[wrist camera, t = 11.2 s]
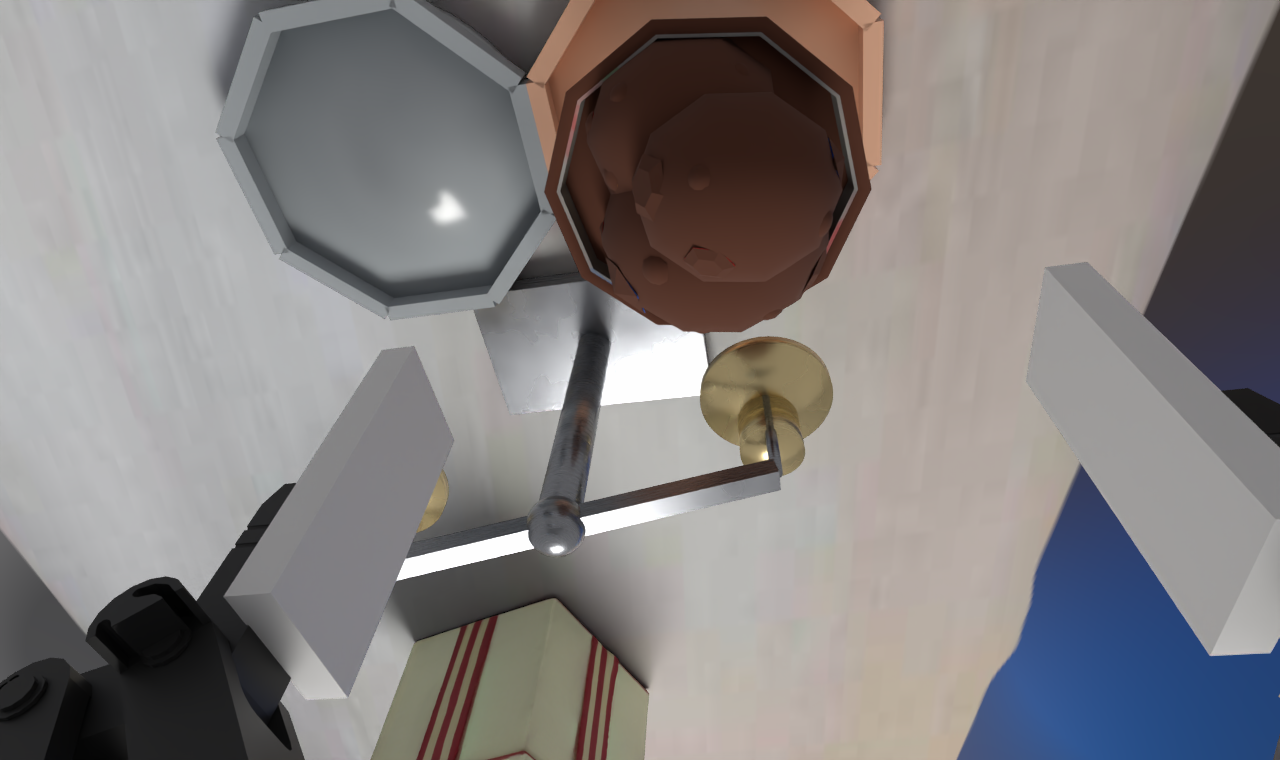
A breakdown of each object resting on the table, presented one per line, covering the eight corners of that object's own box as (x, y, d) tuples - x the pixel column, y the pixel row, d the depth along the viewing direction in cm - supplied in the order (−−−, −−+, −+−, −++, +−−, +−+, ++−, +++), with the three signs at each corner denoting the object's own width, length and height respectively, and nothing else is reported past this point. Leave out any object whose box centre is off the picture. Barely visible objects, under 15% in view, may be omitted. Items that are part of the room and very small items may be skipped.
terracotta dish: (505, -40, 30) (495, -37, 28) (875, -116, 27) (886, -116, 26) (583, 280, 38) (579, 296, 36) (871, 241, 36) (879, 257, 34)
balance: (375, 299, 39) (206, 520, 26) (807, 241, 36) (878, 461, 22) (424, 412, 44) (303, 652, 30) (812, 370, 40) (875, 620, 27)
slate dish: (186, 25, 32) (162, 32, 30) (505, -40, 30) (495, -37, 28) (326, 314, 40) (312, 330, 39) (583, 280, 38) (579, 296, 36)
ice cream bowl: (570, -12, 29) (479, 57, 17) (843, -20, 28) (957, 46, 16) (588, 230, 35) (531, 410, 23) (815, 229, 34) (881, 415, 22)
